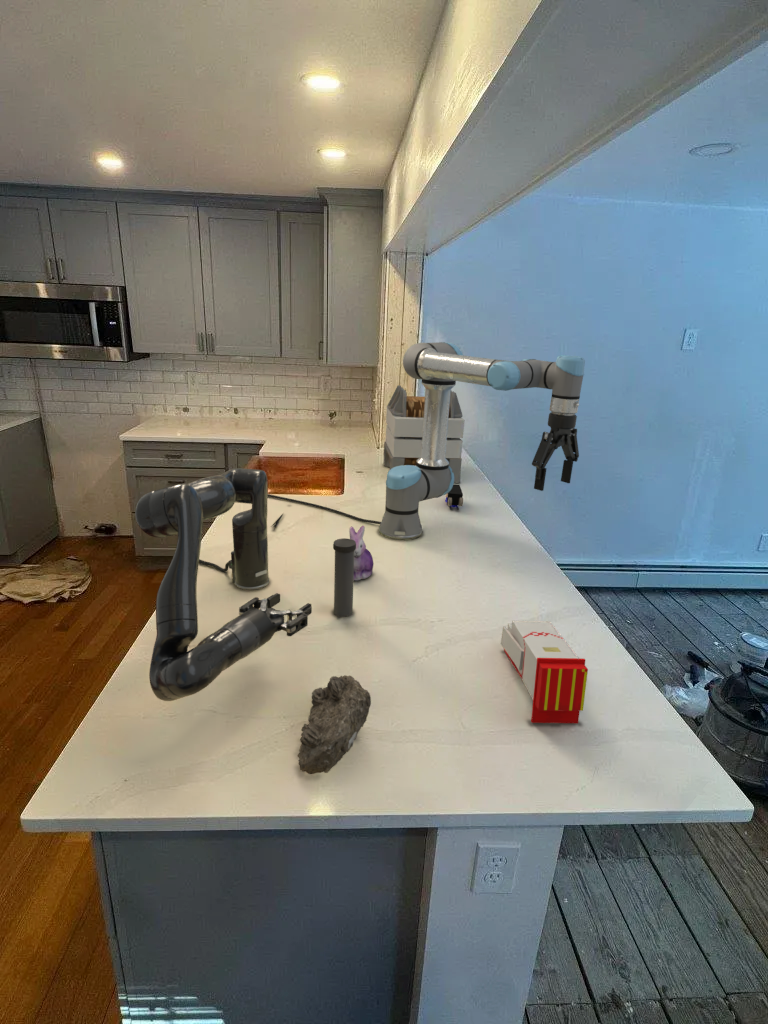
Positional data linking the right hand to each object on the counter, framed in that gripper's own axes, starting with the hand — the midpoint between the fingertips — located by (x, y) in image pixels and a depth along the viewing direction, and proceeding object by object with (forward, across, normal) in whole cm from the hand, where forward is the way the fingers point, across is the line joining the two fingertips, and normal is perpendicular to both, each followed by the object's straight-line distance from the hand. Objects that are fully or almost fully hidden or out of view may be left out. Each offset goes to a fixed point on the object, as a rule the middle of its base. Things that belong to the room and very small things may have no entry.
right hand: (552, 485), depth 166 cm
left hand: (+15, -83, +9) cm, 84 cm away
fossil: (+28, -91, -19) cm, 97 cm away
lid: (+9, -63, +16) cm, 66 cm away
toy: (+28, -47, -32) cm, 64 cm away
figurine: (+28, -46, +31) cm, 62 cm away
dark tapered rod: (+28, -40, +85) cm, 98 cm away
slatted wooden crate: (+28, +46, +101) cm, 115 cm away
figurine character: (+28, +24, +58) cm, 69 cm away
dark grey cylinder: (+28, -63, +16) cm, 71 cm away
